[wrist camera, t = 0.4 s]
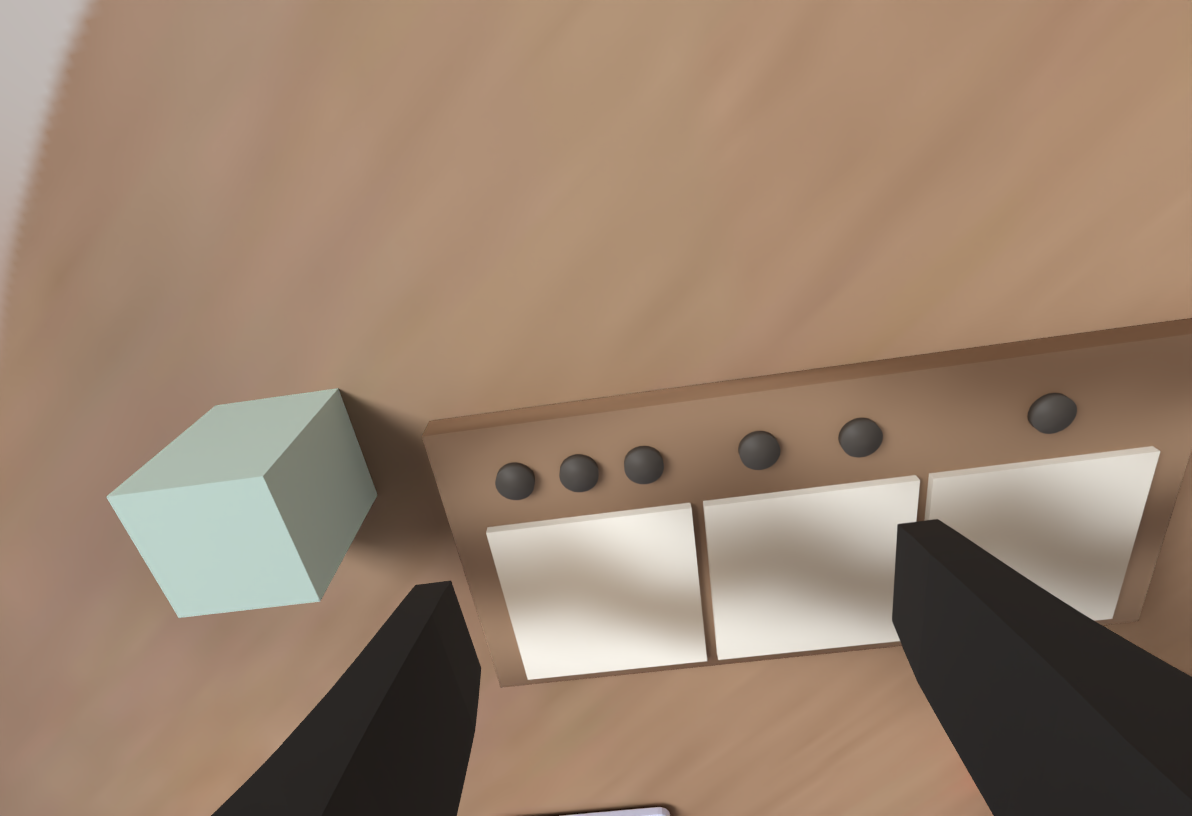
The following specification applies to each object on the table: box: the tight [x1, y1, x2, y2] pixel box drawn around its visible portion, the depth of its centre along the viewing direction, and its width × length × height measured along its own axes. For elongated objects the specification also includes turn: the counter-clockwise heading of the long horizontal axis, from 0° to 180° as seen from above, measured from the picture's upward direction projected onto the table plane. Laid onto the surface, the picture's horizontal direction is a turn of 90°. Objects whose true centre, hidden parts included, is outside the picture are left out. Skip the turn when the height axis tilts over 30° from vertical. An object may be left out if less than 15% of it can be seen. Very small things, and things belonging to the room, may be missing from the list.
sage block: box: [107, 388, 377, 618], centre depth 18 cm, size 4×4×5 cm
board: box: [422, 318, 1192, 687], centre depth 21 cm, size 11×23×1 cm, turn 99°
